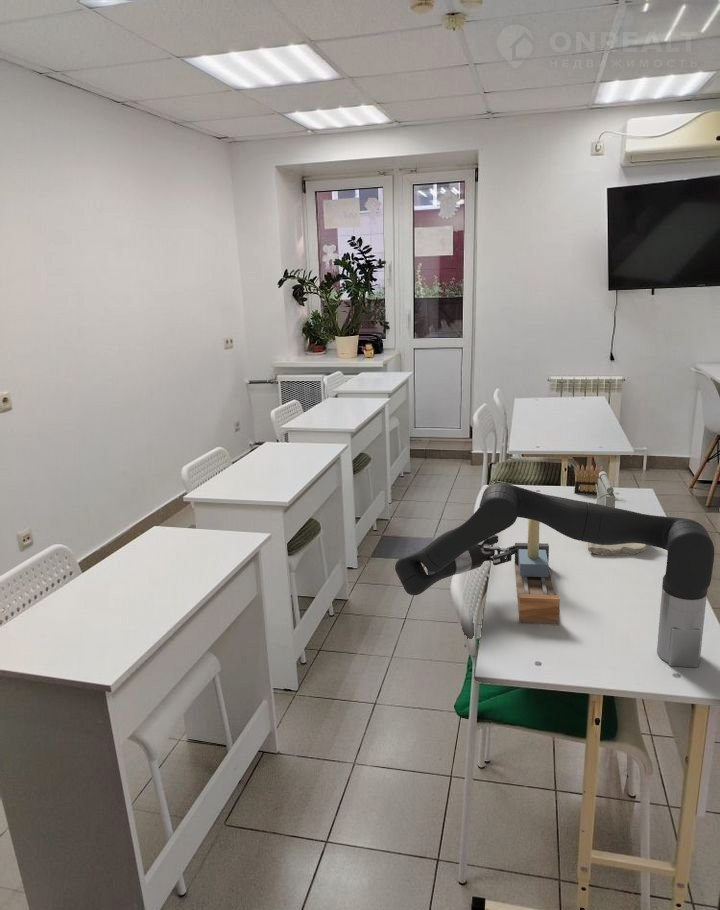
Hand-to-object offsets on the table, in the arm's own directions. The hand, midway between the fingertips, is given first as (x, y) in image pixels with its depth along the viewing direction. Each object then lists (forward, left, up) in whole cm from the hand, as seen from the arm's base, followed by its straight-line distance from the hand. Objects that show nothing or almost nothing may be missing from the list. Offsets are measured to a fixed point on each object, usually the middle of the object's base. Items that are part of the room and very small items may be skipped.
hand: (507, 543), depth 184 cm
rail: (-2, -8, -14) cm, 16 cm away
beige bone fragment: (+35, -36, -15) cm, 52 cm away
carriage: (+7, -8, -11) cm, 15 cm away
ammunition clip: (+80, -34, -14) cm, 88 cm away
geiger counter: (+60, -36, -14) cm, 71 cm away
